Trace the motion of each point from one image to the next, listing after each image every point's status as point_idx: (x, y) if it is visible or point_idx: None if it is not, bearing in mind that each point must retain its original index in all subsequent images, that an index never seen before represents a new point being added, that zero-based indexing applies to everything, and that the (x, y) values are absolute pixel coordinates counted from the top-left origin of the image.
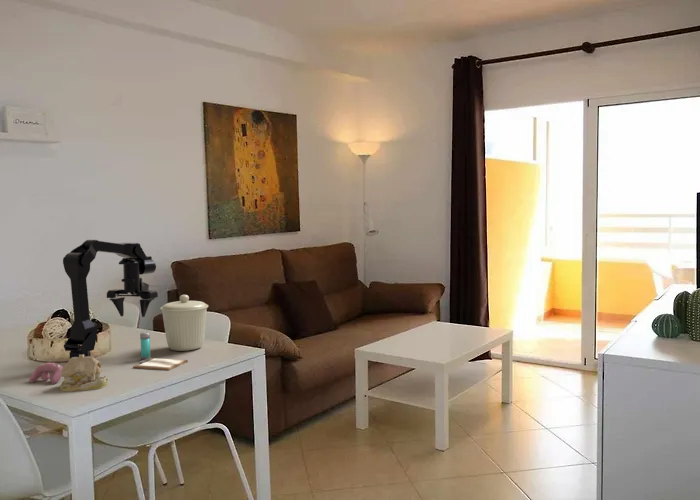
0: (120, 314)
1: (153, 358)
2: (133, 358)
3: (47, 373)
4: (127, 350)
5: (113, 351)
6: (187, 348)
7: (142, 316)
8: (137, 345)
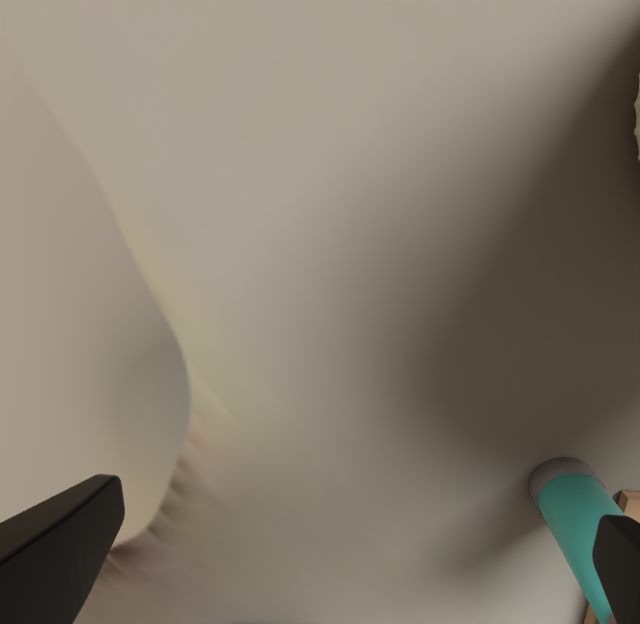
0: (89, 561)
1: (635, 506)
2: (456, 469)
3: None
4: (267, 258)
5: (183, 304)
6: None
7: (609, 577)
8: (232, 57)
